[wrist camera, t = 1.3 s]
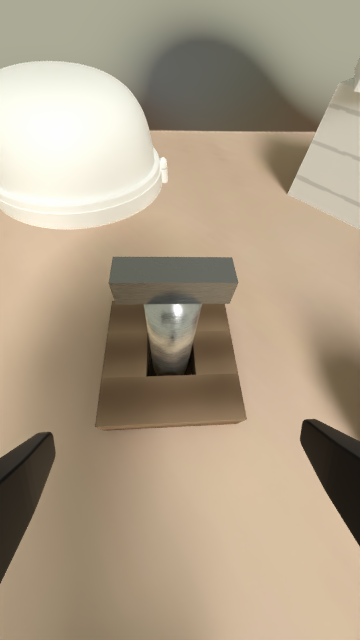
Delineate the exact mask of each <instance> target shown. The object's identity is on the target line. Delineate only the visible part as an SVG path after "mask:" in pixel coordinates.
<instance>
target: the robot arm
mask: <svg viewBox="0 0 360 640" xmlns="http://www.w3.org/2000/svg"><path fill="white" fill-rule="evenodd" d="M300 441H301V445H302V447H303V449H304V451H305V453H306V455H307V457H308V459H309V461H310V463H311V464H312V466H313V468H314V470H315V472H316V474H317V476H318V478H319V480H320V482H321V484H322V486H323V487H324V489H325V491H326V493H327V494H328V496H329V498H330V499H331V501H332V503H333V504H334V506H335V507H336V509H337V511H338V512H339V514H340V515H341V517H342V519H343V520H344V522H345V524H346V525H347V527H348V528H349V530H350V532H351V533H352V535H353V536H354V538H355V540H356V541H357V543H358V544H359V546H360V441H358V440H356V439H354V438H352V437H350V436H348V435H346V434H344V433H342V432H340V431H338V430H336V429H334V428H332V427H330V426H328V425H326V424H324V423H322V422H320V421H318V420H316V419H306V420H304V421H303V423H302V429H301V435H300ZM54 459H55V446H54V439H53V434H52V433H51V432H41V433H37V434H36V435H34V436H33V437H31V438H30V439H28V440H27V441H25V442H24V443H22V444H21V445H19V446H18V447H16V448H15V449H13V450H12V451H10V452H9V453H7V454H6V455H4V456H3V457H1V458H0V583H1V581H2V579H3V577H4V575H5V573H6V571H7V569H8V566H9V564H10V562H11V560H12V558H13V556H14V554H15V552H16V550H17V548H18V546H19V543H20V541H21V539H22V537H23V535H24V533H25V531H26V529H27V527H28V525H29V523H30V520H31V518H32V516H33V514H34V512H35V509H36V507H37V504H38V502H39V499H40V496H41V494H42V491H43V488H44V486H45V483H46V480H47V478H48V475H49V472H50V470H51V467H52V464H53V462H54Z"/></svg>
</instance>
